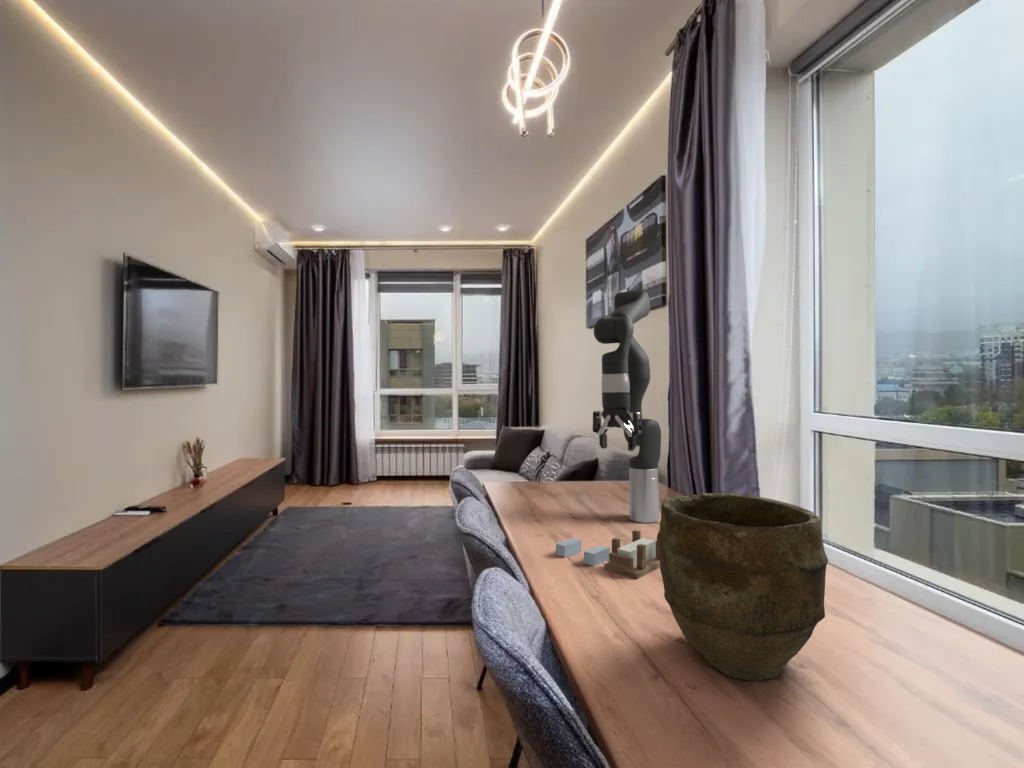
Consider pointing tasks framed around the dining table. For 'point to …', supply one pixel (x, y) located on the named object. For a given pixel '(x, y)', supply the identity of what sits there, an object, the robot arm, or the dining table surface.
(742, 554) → the clay pot
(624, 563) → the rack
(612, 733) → the dining table surface
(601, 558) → the pair of grey blocks
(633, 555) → the white rectangular block
